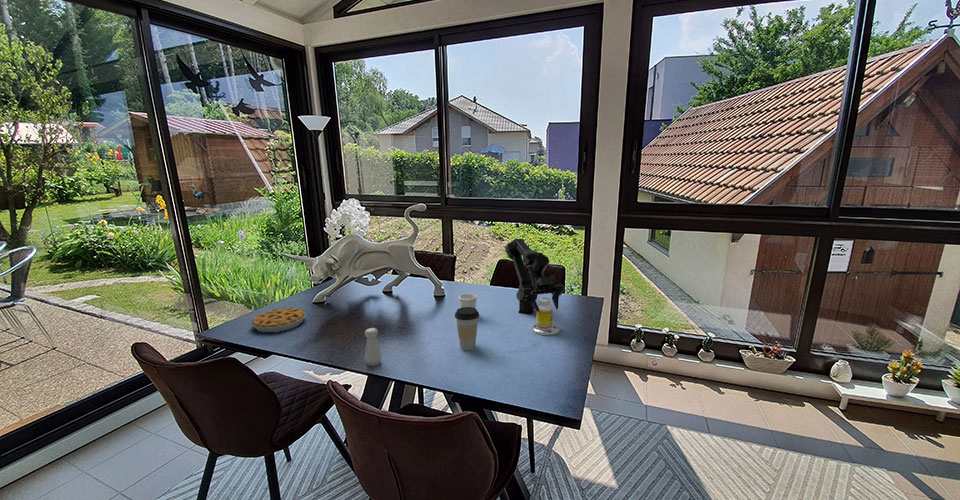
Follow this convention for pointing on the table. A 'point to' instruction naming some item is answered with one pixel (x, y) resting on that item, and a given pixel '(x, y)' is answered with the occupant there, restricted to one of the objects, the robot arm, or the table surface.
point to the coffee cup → (467, 327)
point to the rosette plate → (547, 333)
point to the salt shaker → (372, 347)
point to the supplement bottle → (544, 315)
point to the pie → (278, 320)
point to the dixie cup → (468, 300)
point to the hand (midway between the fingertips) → (547, 310)
